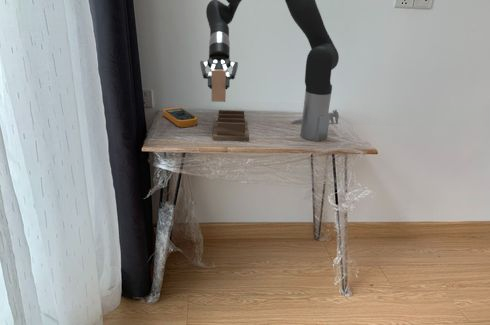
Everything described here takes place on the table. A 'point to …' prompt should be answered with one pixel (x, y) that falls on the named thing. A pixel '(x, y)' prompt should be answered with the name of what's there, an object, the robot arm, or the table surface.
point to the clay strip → (218, 85)
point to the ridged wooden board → (231, 126)
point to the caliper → (334, 114)
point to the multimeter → (180, 117)
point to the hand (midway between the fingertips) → (218, 87)
